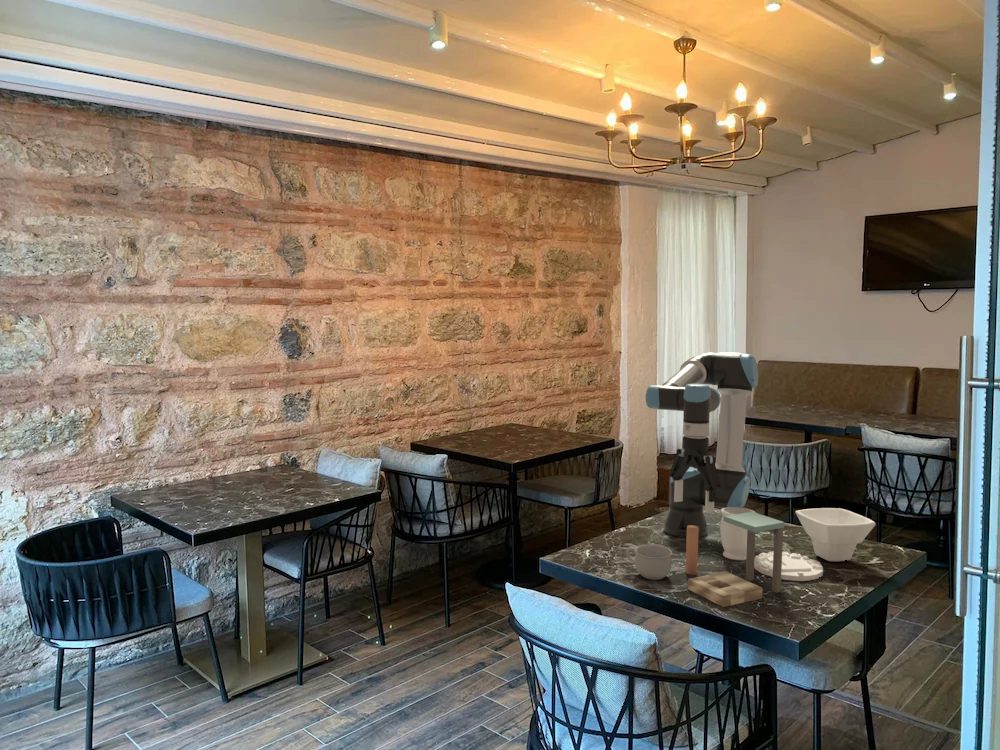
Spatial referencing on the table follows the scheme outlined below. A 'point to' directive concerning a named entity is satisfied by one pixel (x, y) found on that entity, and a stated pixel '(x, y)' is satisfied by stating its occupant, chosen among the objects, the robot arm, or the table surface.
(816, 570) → the white round plaque
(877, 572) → the table surface
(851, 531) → the bowl
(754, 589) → the socket block
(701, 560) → the table surface
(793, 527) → the table surface
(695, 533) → the peg
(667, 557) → the teacup
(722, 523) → the jar
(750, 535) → the green-topped stool
